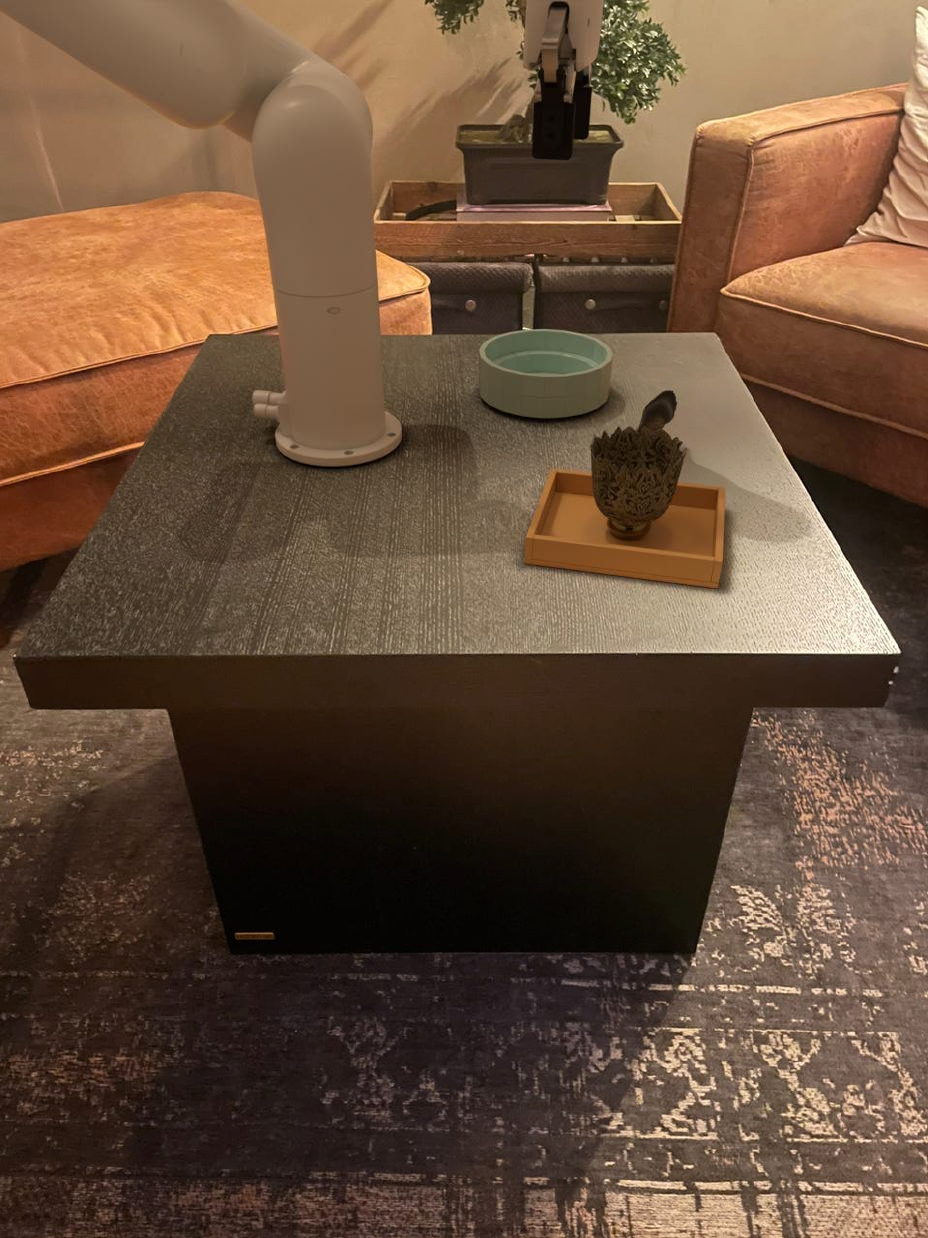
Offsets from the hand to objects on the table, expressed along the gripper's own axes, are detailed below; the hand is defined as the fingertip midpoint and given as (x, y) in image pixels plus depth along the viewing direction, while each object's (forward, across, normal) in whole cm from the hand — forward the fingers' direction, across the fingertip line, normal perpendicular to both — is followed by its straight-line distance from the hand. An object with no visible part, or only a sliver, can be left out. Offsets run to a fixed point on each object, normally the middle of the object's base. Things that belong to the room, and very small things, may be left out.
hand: (561, 148), depth 78 cm
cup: (+26, +18, +10) cm, 33 cm away
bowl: (+26, -10, -2) cm, 28 cm away
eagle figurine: (+26, +4, +10) cm, 29 cm away
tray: (+26, +18, +10) cm, 33 cm away
